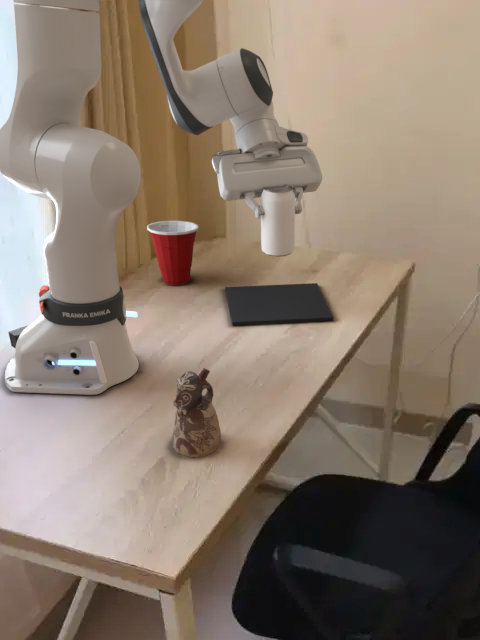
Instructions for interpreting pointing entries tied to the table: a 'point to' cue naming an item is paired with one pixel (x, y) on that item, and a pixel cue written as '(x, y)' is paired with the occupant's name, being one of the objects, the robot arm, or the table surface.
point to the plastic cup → (174, 249)
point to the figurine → (195, 416)
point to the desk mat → (277, 304)
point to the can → (278, 221)
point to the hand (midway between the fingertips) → (279, 214)
